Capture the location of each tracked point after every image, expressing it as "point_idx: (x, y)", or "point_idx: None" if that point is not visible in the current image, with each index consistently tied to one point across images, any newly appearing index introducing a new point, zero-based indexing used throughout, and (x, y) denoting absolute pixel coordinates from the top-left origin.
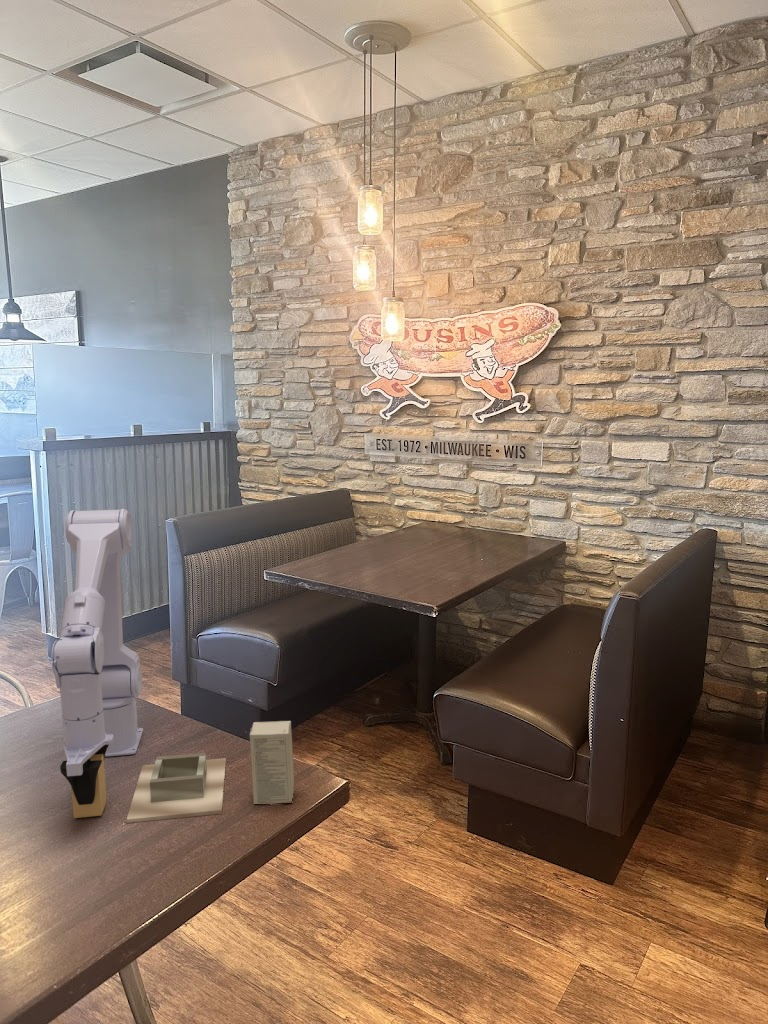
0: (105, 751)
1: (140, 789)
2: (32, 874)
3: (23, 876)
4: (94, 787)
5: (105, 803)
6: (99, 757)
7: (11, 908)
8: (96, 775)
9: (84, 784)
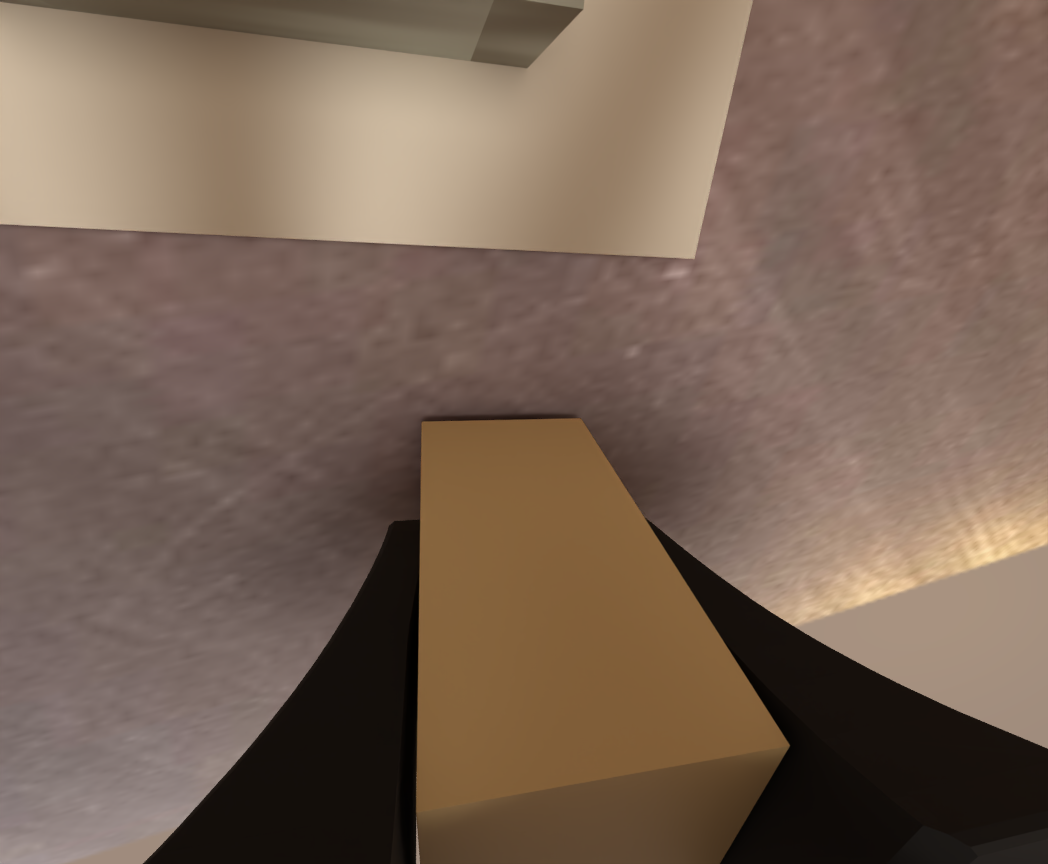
0: (394, 835)
1: (291, 192)
2: (855, 560)
3: (849, 580)
4: (723, 581)
5: (466, 423)
6: (531, 810)
7: (980, 560)
8: (807, 667)
9: None
